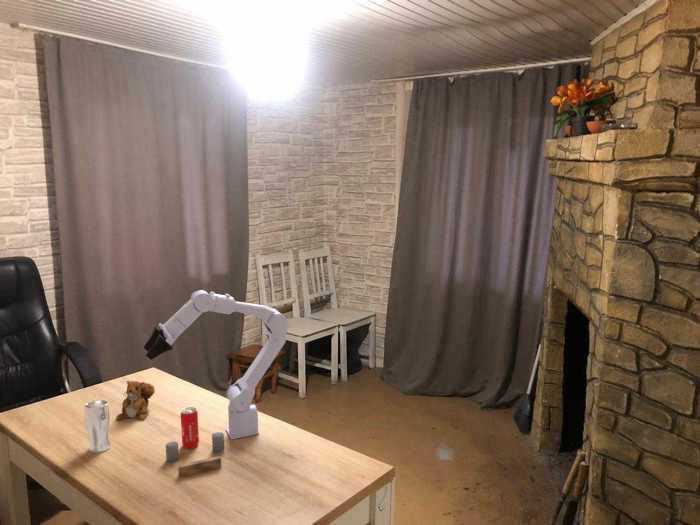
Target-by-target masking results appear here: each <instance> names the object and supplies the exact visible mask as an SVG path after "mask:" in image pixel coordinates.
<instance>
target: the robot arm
mask: <svg viewBox="0 0 700 525" xmlns="http://www.w3.org/2000/svg"><path fill="white" fill-rule="evenodd" d="M190 295H191V296H190V299H188V301H186V303H185V304H184V305H183V306H181V307H180V309H178V310H177V311H176V312H175V313H174V314H173V315H172V316H171V317H170V318H169V319H168V320H167V321H166V322H164V324H162V323H161V322H160V323H158V326H159V328H160V329H159V328H158V327H156V326H154V329H153V330H152V334H151V335H150V337H149V338H148V340H147V342H145V344H144V346H143V349H144V350H145V351H147V352H146V354H145V357H146V358H148V359H149V360H151V361H152V360H154V359H155V358H157V357H158V356H160V355H161V354H163V353H166V352H168V351H172V350H173V349H174V348H173V346H172V345H173V344H174V342H175V341H176V340H177V339H178V337H179V336H180V335H181V334H183V332H185V330H186V329H187V328H189V326H191V325H192V324H193V323H194V321H196V319H198V318H199V317H200V316H201V315H202V314H203V313H207V312H213V313H219V314H225V315H230V314H232V313H234V312H236V313H240V314H246V315H250V316H255V317H258V318H259V320H261V322H262V323H263V325H264V326H265V328H266V331H267V335H268V340H266V342H265V344H264V345H263V347H262V348H261V350H260V351H259V353H258V354H257V356H256V357H255V359H254V360H253V361H252V363H251V365H250V366H249V367H248V369H247V370H246V371H245V373H244V375H243V377H240V378H238V379H237V380H236V381H235V382H234V383H233V384H232V385H230V386H229V387H228V388H227V390H226V398H227V399H228V401H229V403H228V406H227V411H228V427H226V428H225V430H226V433H227V435H228V436H229V438H230V440H236V439H240V438H245V437H250V436H253V435H258V434H260V432H259V417H258V416H259V415H258V408H257V406H256V404H252V401H253V398H254V397H255V394H256V387H257V386H258V384H259V382H260V381H261V379H262V378H263V376H264V375H265V373H266V372H267V370H268V369H269V367H270V366H271V364H272V363H273V361H274V360H275V359H276V357H277V356H278V354H279V353H280V351H281V349H282V348H283V347H284V345H285V343H286V340H287V335H288V334H287V333H288V328H290V326H289V322H288V319H287V317H286V316H285V315H284V314H282V313H281V312H279V311H278V309H276V308H275V307H270V306H269V305H263V304H257V303H250V302H249V303H248V302H242V301H236V300H235V298H234V297H233V296H231V295H230V294H229V293H225V294H224V295H223V294H218V293H215V292H214V291H210V293H208V292H207V291H206V290H203V289H201V290H196V291H193V293H191V294H190Z"/></svg>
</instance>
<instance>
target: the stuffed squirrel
mask: <svg viewBox="0 0 700 525" xmlns="http://www.w3.org/2000/svg"><path fill="white" fill-rule="evenodd" d="M126 384H127V386H126V391H125V392H124V393H123V396H124V397H125V399H124V400H123V401H122V403H121V404H122V405H121V406H122V408H121V413H119V414H118V415H117V416H116V417H115V419H116V420H117V421H120V420H124V419H127V418H132V419H138V420H140V421H144V420H145V419H146V418H147V417H148V415H149V410H148V407H149V399H151V398H152V397H153V396H154V394H155V393H156V390H155V385H153V384H151V383H150V382H149V383H148V382H145V381H141V382H140V381H136V380H131V381H130V380H127V381H126Z"/></svg>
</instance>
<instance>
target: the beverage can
mask: <svg viewBox="0 0 700 525" xmlns="http://www.w3.org/2000/svg"><path fill="white" fill-rule="evenodd" d="M198 415H199V414H198V410H197V408H196V407H194V406H193V407H192V406H191V407H190V406H189V407H186V408H183V409H181V412H180V428H181V429H180V430H181V444H182V445H183V448H185V449H194V448H196V447H198V446H199V445H198V444H199V443H200V437H199V435H200V434H199V433H200V432H199V416H198Z"/></svg>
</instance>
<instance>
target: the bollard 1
mask: <svg viewBox="0 0 700 525" xmlns="http://www.w3.org/2000/svg"><path fill="white" fill-rule="evenodd" d="M165 456H166V457H165V458H166V460H165V461H166V462H167V463H170V464H172V463H176V462H178V461H179V459H180V455H179V443H178V442H177V441H169V442H167V443H166V444H165Z"/></svg>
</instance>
